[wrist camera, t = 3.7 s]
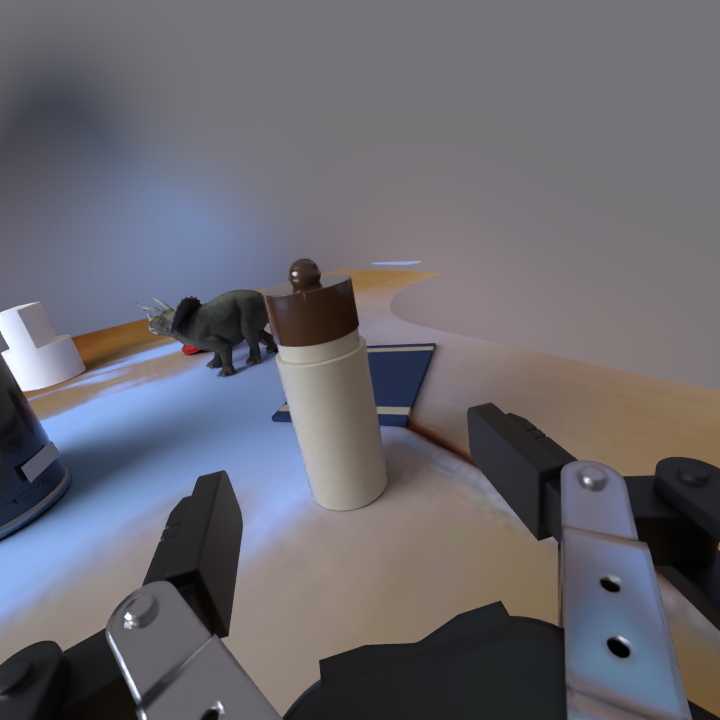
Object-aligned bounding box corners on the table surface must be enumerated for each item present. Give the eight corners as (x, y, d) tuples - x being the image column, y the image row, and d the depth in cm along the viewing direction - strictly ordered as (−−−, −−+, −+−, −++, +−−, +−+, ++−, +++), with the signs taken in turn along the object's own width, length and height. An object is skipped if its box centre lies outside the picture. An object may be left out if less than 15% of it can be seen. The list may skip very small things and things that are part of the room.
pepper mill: (297, 506, 24) (229, 273, 19) (329, 454, 29) (282, 256, 23) (375, 516, 22) (326, 260, 17) (396, 459, 27) (363, 244, 21)
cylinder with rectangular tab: (76, 379, 58) (40, 305, 54) (8, 396, 56) (-36, 321, 51) (92, 362, 66) (61, 297, 62) (33, 377, 64) (-3, 310, 59)
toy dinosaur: (310, 334, 60) (295, 264, 56) (327, 347, 53) (310, 268, 49) (166, 374, 53) (136, 298, 49) (162, 396, 46) (126, 308, 42)
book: (272, 421, 35) (271, 416, 35) (340, 350, 51) (339, 346, 51) (405, 426, 31) (405, 421, 30) (435, 346, 46) (435, 342, 46)
